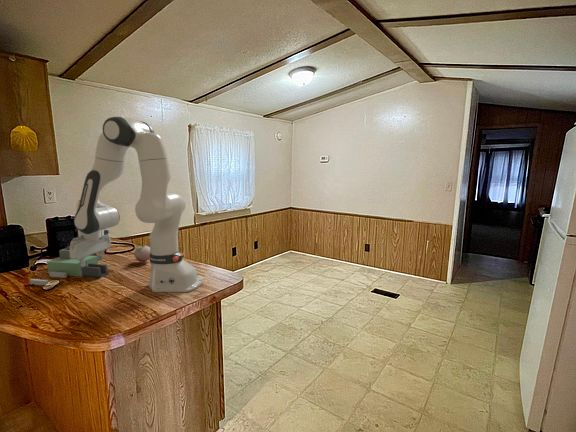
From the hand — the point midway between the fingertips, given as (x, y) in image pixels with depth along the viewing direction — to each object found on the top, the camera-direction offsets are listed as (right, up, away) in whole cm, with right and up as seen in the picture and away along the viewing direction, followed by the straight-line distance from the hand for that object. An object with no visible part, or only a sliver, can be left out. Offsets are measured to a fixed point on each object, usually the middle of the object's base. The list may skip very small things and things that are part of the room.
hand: (92, 263), depth 143 cm
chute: (+1, -6, +1) cm, 6 cm away
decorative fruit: (+14, -3, +21) cm, 25 cm away
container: (-15, -3, +21) cm, 26 cm away
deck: (-15, -6, +1) cm, 16 cm away
